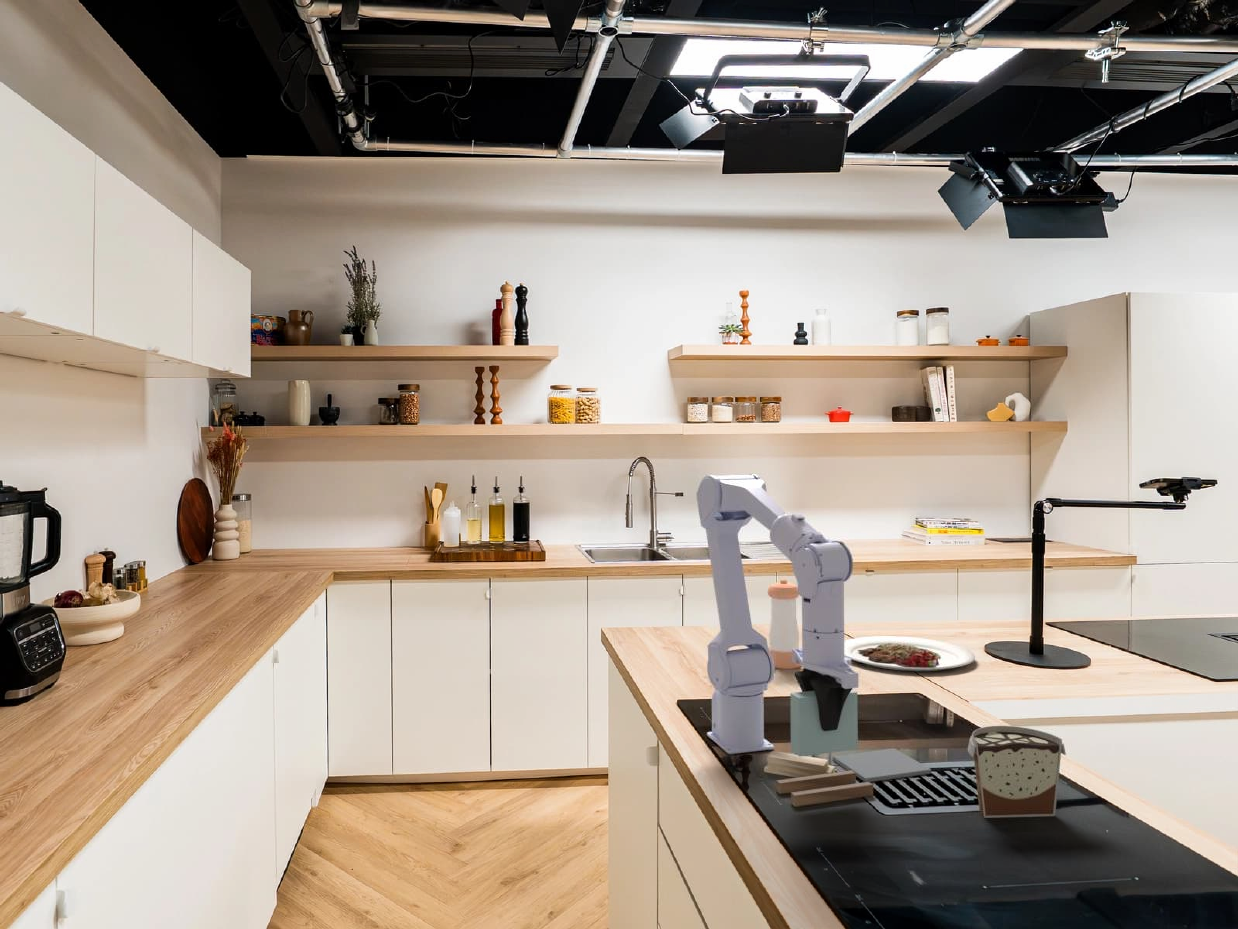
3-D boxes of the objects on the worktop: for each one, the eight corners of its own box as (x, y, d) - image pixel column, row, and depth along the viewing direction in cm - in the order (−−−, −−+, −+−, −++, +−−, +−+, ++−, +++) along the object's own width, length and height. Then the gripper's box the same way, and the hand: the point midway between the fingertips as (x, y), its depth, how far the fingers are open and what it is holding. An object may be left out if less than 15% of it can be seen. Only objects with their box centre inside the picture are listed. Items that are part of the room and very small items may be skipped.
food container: (1040, 795, 111) (1039, 723, 111) (1066, 815, 105) (1065, 739, 105) (951, 798, 111) (951, 725, 111) (972, 818, 105) (972, 741, 105)
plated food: (892, 638, 208) (892, 625, 208) (1002, 662, 182) (1002, 647, 182) (809, 655, 191) (809, 641, 191) (918, 684, 166) (918, 668, 166)
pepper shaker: (798, 660, 185) (797, 577, 185) (802, 669, 178) (802, 582, 178) (766, 660, 186) (765, 577, 186) (769, 668, 178) (768, 582, 178)
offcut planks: (770, 767, 123) (769, 749, 123) (836, 778, 119) (836, 760, 119) (764, 774, 121) (764, 756, 121) (831, 786, 116) (831, 767, 116)
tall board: (790, 750, 113) (790, 693, 113) (848, 743, 115) (847, 687, 115) (799, 756, 110) (799, 698, 110) (857, 749, 113) (857, 692, 113)
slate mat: (832, 760, 125) (832, 756, 125) (894, 752, 128) (894, 748, 128) (865, 782, 116) (865, 778, 116) (931, 773, 119) (931, 769, 119)
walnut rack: (776, 791, 114) (776, 780, 114) (851, 780, 117) (851, 770, 117) (794, 806, 109) (794, 795, 109) (873, 795, 112) (872, 784, 112)
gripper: (878, 638, 107) (879, 740, 107) (821, 617, 121) (822, 707, 121) (830, 642, 105) (831, 746, 105) (778, 620, 119) (779, 712, 119)
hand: (823, 726), depth 113 cm, fingers closed on tall board, 2 cm apart
